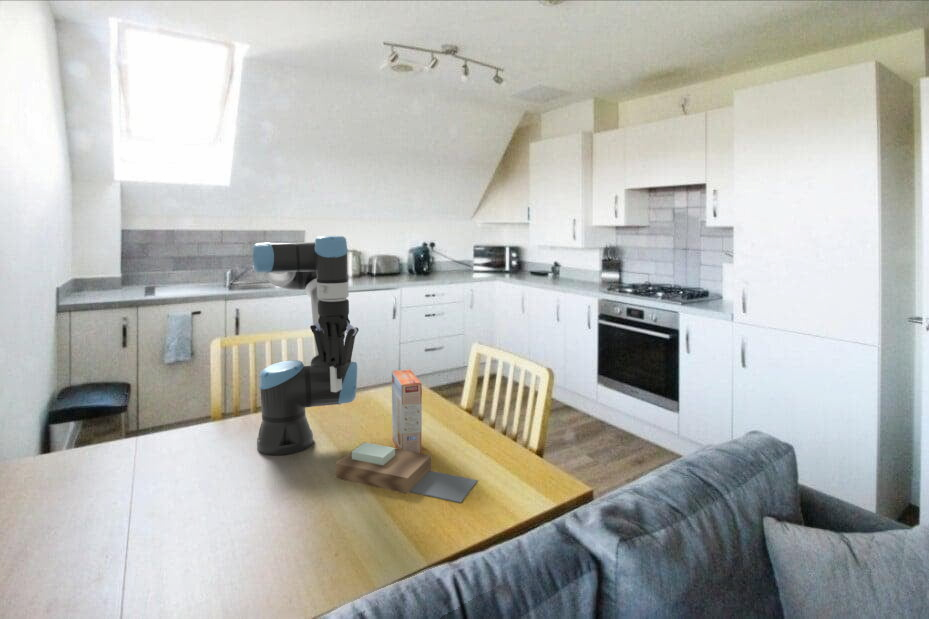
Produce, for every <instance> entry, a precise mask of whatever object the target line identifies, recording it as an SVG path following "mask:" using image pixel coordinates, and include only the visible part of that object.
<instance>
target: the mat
mask: <svg viewBox="0 0 929 619" xmlns="http://www.w3.org/2000/svg"><path fill="white" fill-rule="evenodd" d="M477 483H478V479H474V478H468V477H465V476H460V475H455V474H448V473H443V472H439V471H435V470H434V471H433V470H431V471H429V472H428V473H427V474H426V475H425V476H424V477H423V478H422V479H421V480H420V481H419V482H418V483H417V484H416V485H415V486H414V487H413V488H412V489H411V490H410V492H409V493H413V494H417V495H421V496H426V497H431V498H436V499H439V500H446V501H448V502H449V501H450V502H453V503H454V502H455V503H457V504H458V503H459V504H462V503H463V501H464V500H465V498H466V497H467V496H468V494H469V493H470V492H471V490H472V489H473V488H474V487H475V486H476V484H477Z"/></svg>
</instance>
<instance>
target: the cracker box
mask: <svg viewBox="0 0 929 619" xmlns="http://www.w3.org/2000/svg"><path fill="white" fill-rule="evenodd" d="M422 384H423V383H422V382H421V381H420V380H419V378H418V377H417V376H416V375H415V374H414V372H413V371H412V369H400V370H392V371H391V421H392V422H391V424H392V428H391V430H392V431H391V435H392V436H391V437H392V441H393V444H394V445H395V447H396V449H400V450H405V451H411V452H416V453H421V454H423V453H422V452H423V450H422V443H423V442H422V439H423V438H422V426H423V425H422V424H423V422H422V421H423V420H422V418H423V417H422V414H423V413H422V412H423V411H422V410H423V409H422V408H423V407H422V406H423V405H422V404H423V401H422V400H423V399H422V398H423V394H422V392H423V391H422V390H423V389H422V388H423V387H422V386H423V385H422Z"/></svg>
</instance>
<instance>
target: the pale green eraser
mask: <svg viewBox="0 0 929 619" xmlns="http://www.w3.org/2000/svg"><path fill="white" fill-rule="evenodd" d="M354 449H355V450H354ZM354 449H353V450H351V452H352V459H354V460H359V461H364V462H369V463H374V464H379V465H384V464H386V463H387V462H388V461H389V460H390V459H391V458H393V457H394V456H395V449H396V448H395V447H391V446H386V445H381V444H375V443H371V442H363V443H362V445H361V444H360V445H359V446H357V447H356V448H354Z"/></svg>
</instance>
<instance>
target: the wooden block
mask: <svg viewBox="0 0 929 619" xmlns="http://www.w3.org/2000/svg"><path fill="white" fill-rule="evenodd" d="M362 444H363V443H362ZM362 444H360V445H362ZM355 449H356V448H354V449H353V450H355ZM334 467H335V479H338V480H341V481H342V480H343V481H347V482H350V483H355V484H361V485H365V486H369V487H373V488H378V489H382V490H387V491H392V492H397V493H401V494H405V495H409V494H410V493H411V492H410V490H411V489H412V488H413V487H414V486H415V485H416V484H417V483H418V482H419V481H420V480H421V479H422V478H423V477H424V476H425V475H426V474H427V473H428V472H429V471H432V454H427V453H422V454H421V453H416V452H411V451H405V450H400V449H397V448H395V456H394V457H393V458H391V459H390V460H389V461H388V462H387V463H386V464H384V465H379V464H374V463H369V462H364V461H359V460H354V459H352V451H350V452H349V453H347V454H346V455H345V456H343V457H341V458H340V459H339V460H337V461H336V462H335V466H334Z"/></svg>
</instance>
